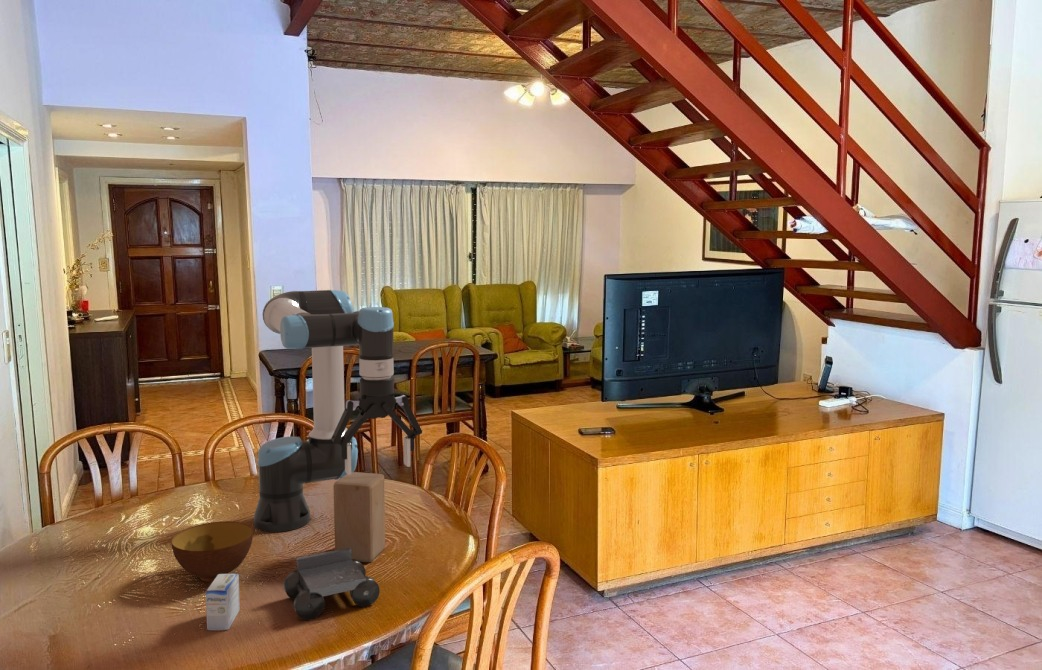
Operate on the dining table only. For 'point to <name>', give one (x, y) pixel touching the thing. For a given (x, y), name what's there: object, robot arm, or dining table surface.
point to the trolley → (328, 582)
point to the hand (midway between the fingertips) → (378, 469)
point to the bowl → (212, 548)
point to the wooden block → (360, 515)
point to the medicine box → (222, 601)
